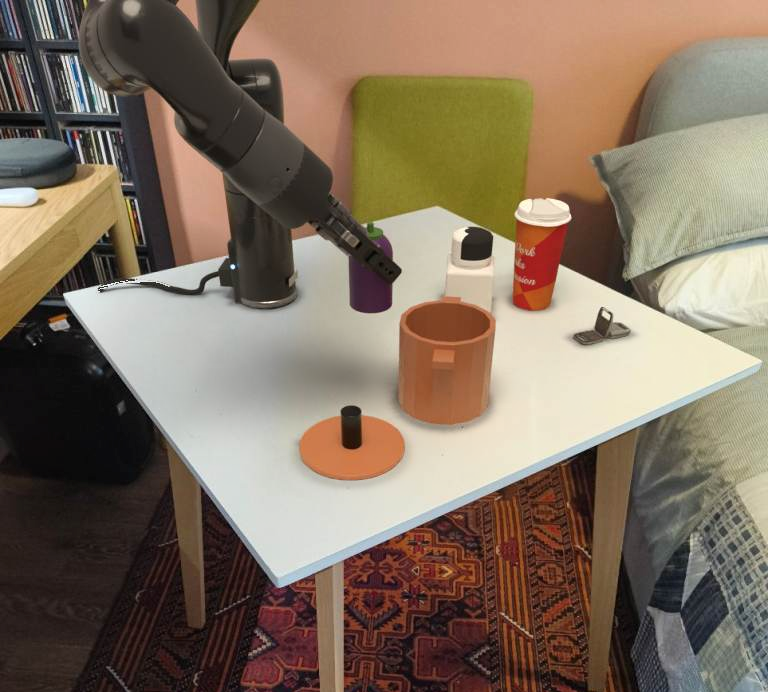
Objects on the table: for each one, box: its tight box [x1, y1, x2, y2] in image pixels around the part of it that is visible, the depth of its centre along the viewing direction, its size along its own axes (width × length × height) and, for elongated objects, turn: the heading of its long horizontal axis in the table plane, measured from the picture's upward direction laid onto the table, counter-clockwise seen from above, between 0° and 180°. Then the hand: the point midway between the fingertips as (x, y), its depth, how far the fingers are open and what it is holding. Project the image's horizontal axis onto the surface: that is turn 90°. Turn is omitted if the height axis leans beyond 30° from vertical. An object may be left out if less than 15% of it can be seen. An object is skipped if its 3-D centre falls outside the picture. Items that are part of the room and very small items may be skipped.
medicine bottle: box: [444, 226, 495, 315], centre depth 116 cm, size 7×7×12 cm
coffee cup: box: [512, 197, 572, 312], centre depth 117 cm, size 8×8×15 cm
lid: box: [298, 404, 405, 481], centre depth 89 cm, size 12×12×6 cm
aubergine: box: [347, 221, 394, 314], centre depth 87 cm, size 5×5×10 cm
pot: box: [397, 295, 497, 426], centre depth 96 cm, size 11×17×12 cm
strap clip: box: [573, 306, 631, 345], centre depth 112 cm, size 8×3×4 cm, turn 113°
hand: (385, 267), depth 88 cm, fingers closed on aubergine, 5 cm apart
